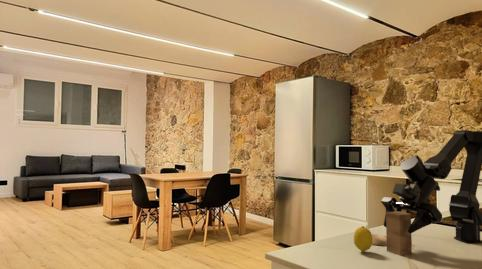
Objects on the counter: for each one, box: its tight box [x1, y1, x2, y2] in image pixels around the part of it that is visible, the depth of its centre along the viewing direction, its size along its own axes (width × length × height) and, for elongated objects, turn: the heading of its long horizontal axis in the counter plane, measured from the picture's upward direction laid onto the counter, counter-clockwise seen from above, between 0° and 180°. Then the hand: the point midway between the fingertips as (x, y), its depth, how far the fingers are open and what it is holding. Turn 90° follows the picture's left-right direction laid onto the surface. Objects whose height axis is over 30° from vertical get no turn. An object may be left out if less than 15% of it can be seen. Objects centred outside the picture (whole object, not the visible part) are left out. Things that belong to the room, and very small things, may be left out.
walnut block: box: [385, 211, 413, 256], centre depth 108 cm, size 5×5×12 cm
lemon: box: [353, 225, 373, 253], centre depth 108 cm, size 6×6×8 cm
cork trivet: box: [371, 233, 387, 247], centre depth 121 cm, size 11×11×1 cm
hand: (396, 229), depth 108 cm, fingers open, 9 cm apart
